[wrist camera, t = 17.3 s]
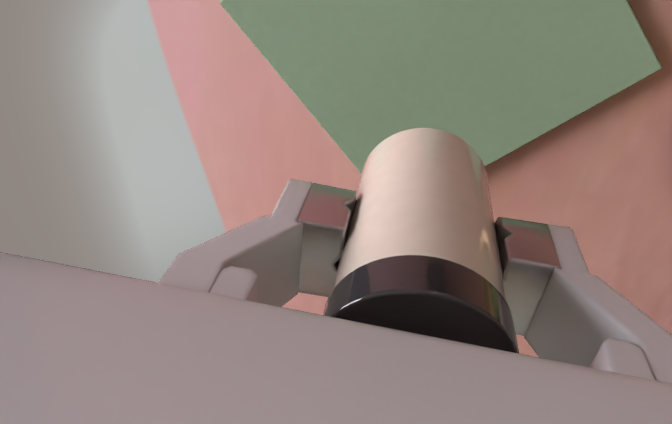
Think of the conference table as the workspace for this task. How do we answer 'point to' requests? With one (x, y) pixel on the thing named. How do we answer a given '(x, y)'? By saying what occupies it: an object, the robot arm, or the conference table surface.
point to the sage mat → (448, 64)
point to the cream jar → (424, 245)
